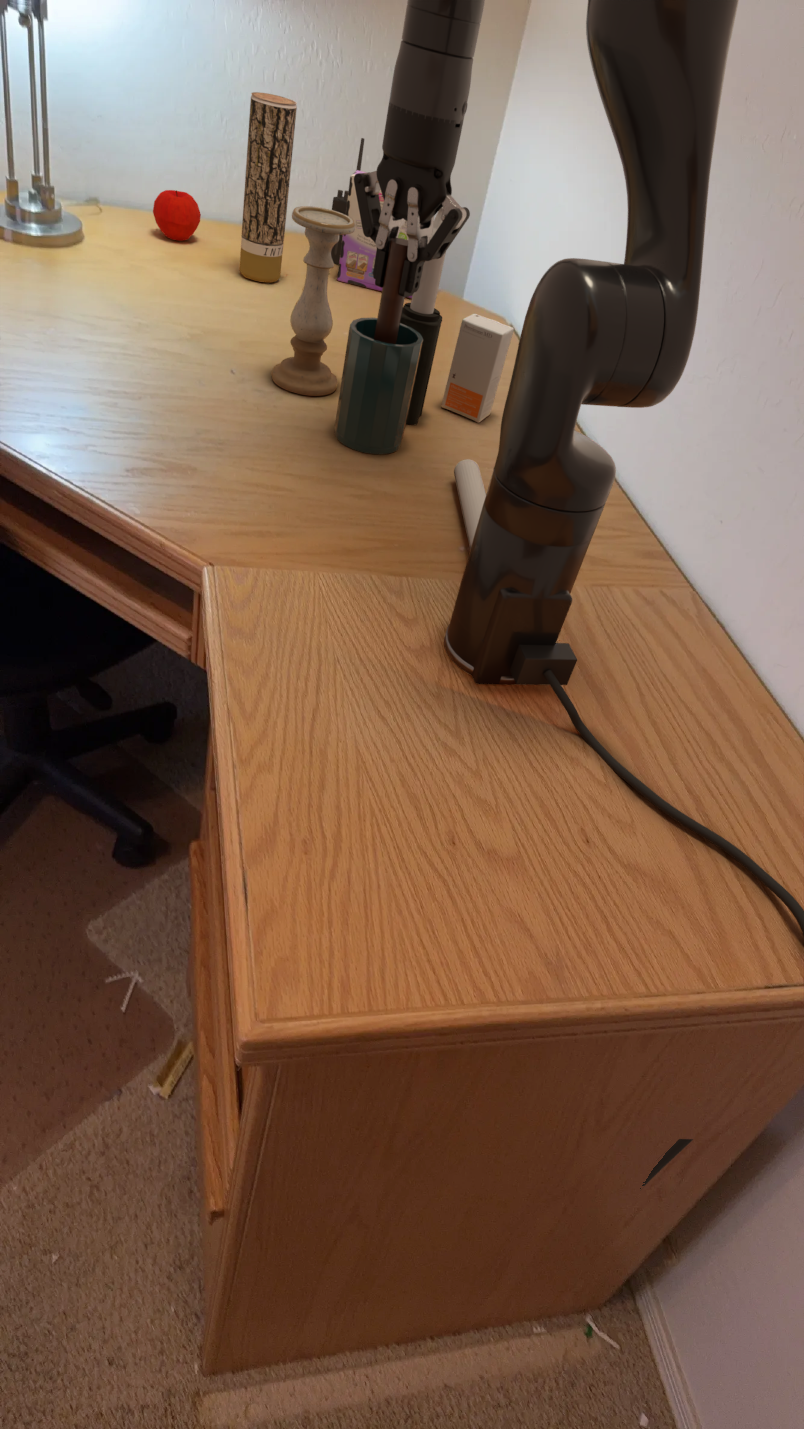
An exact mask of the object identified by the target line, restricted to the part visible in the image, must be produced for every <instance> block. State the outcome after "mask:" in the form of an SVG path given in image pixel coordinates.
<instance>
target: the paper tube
mask: <svg viewBox="0 0 804 1429" xmlns="http://www.w3.org/2000/svg"><path fill="white" fill-rule="evenodd" d="M250 94H251V96H250V103H249V104H250V105H249V117H248V131H247V132H248V134H247V148H246V162H245V178H244V190H243V191H244V192H243V206H242V207H243V208H242V221H241V222H242V223H241V224H242V225H241V238H240V251H239V252H240V253H239V266H238V267H239V272H240V274H241V275H242V276H243V277H245V278H246V279H248V280H251V281H255V282H260V283H275V282H277V281H278V280H279V279H280V278H281V273H282V264H283V253H284V242H285V235H286V234H285V233H286V223H287V212H288V204H289V203H288V202H289V201H288V200H289V191H290V182H291V173H292V172H291V171H292V160H293V149H294V140H295V139H294V138H295V130H296V118H297V110H298V108H297V107H298V106H297V104H298V102H297V101H295V100H293V99H290V98H288V97H284V96H281V95H277V94H273V93H267V92H260V91H259V92H258V91H253V92H251V93H250Z"/></svg>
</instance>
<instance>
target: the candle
mask: <svg viewBox="0 0 804 1429" xmlns="http://www.w3.org/2000/svg"><path fill="white" fill-rule="evenodd" d="M442 213H443V207H442V208H441V209H440V210H439V211H438V212H437V213H436V214H435V216H434V222H433V232H432V234H431V236H430V240H431V238H432V237H433V235H434V234H435V232H436V231H437V229H438V228H439V226H440V225H441V223H442V220H441V215H442ZM446 255H447V251H446V252H445V253H444V255H443V256H442V257H441V258H439V259H433V260H430V261H425V262H424V265H423V270H422V276H421V281H420V286H419V289H418V290H417V292H414V294H413V295H412V298H411V301H410V302H406V303H404V304H403V309H402V315H401V320H400V323H402V324H404V325H406V326H409V327H411V328H413V329H414V330H416V331H417V332H419V333H420V334H421V336H422V338H423V344H422V349H421V353H420V358H419V363H418V368H417V373H416V378H415V382H414V387H413V392H412V397H411V402H410V407H409V411H408V416H407V421H406V425H409V426H414V425H417V424H418V422H419V418H420V417H421V416H422V414H423V410H424V405H425V400H426V396H427V392H428V386H429V382H430V377H431V373H432V370H433V369H432V368H433V364H434V358H435V354H436V349H437V345H438V340H439V336H440V332H441V326H442V322H443V316H442V315H441V312H440V310H438V309H437V308H436V301H437V298H438V297H437V296H438V292H439V288H440V283H441V278H442V273H443V269H444V264H445V258H446Z"/></svg>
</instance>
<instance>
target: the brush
mask: <svg viewBox="0 0 804 1429" xmlns="http://www.w3.org/2000/svg"><path fill="white" fill-rule="evenodd" d="M407 252H408V240H405V239H401V238H392V239H391V241H390V247H389V253H388V259H387V265H386V271H385V276H384V282H383V288H382V291H381V294H380V299H379V300H380V301H379V306H378V312H377V317H376V318H377V324H376V329H375V335H374V340H377V341H381V342H384V343H389V344H396V341H397V336H398V331H399V325H400V320H401V315H402V309H403V306H404V305H405V299H406V298H405V297H403V296H400V295H399V289H400V283H401V278H402V272H403V267H404V261H405V260H407V259H408V257H407Z"/></svg>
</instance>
